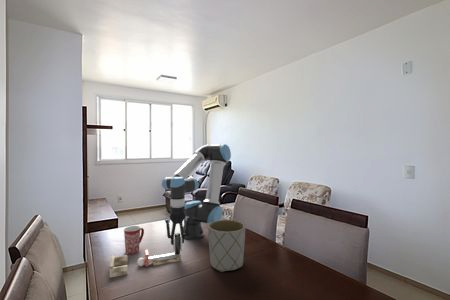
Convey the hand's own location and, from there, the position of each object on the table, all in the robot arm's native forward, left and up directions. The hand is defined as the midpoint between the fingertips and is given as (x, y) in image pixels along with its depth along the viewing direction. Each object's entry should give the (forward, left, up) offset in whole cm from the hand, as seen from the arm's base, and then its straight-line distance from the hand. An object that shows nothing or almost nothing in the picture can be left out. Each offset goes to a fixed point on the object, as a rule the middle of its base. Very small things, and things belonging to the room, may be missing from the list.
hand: (177, 249), depth 124 cm
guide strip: (+6, 0, -5) cm, 8 cm away
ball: (+18, 0, -3) cm, 18 cm away
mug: (+21, -20, -5) cm, 29 cm away
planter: (-22, +15, -5) cm, 27 cm away
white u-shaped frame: (+7, 0, -5) cm, 9 cm away
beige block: (+29, 0, -5) cm, 29 cm away
